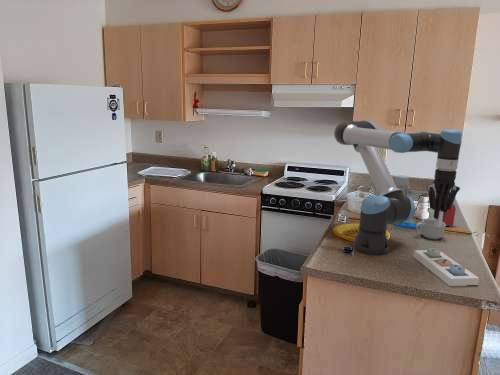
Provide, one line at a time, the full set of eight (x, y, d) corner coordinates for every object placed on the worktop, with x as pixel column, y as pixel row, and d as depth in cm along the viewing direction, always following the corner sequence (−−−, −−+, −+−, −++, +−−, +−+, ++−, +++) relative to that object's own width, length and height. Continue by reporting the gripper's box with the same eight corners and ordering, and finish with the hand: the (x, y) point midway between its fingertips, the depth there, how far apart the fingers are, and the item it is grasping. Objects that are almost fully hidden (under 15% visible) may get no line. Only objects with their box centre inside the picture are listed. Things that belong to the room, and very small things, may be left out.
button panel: (449, 286, 140) (451, 278, 140) (413, 256, 165) (414, 250, 165) (477, 285, 141) (479, 278, 141) (437, 256, 166) (438, 250, 166)
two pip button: (454, 277, 142) (455, 269, 142) (446, 271, 147) (447, 264, 147) (466, 277, 143) (468, 269, 142) (458, 271, 148) (459, 263, 147)
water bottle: (387, 219, 216) (392, 175, 210) (396, 217, 219) (402, 174, 213) (400, 224, 208) (405, 179, 202) (410, 222, 211) (416, 177, 206)
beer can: (436, 223, 211) (440, 202, 208) (448, 223, 212) (451, 202, 209) (443, 227, 205) (447, 205, 202) (455, 227, 205) (459, 205, 202)
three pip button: (441, 271, 151) (442, 263, 150) (434, 265, 155) (435, 258, 155) (453, 271, 151) (454, 263, 150) (445, 265, 156) (446, 258, 155)
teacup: (438, 234, 194) (441, 219, 192) (447, 242, 184) (449, 226, 182) (410, 232, 196) (412, 217, 194) (417, 240, 185) (419, 224, 183)
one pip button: (430, 259, 158) (431, 252, 157) (423, 254, 163) (424, 247, 162) (441, 259, 158) (442, 252, 158) (434, 254, 163) (436, 247, 163)
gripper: (435, 171, 147) (427, 229, 153) (467, 171, 149) (458, 229, 154) (425, 167, 155) (417, 223, 160) (455, 167, 156) (447, 222, 162)
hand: (437, 226), depth 157 cm, fingers closed
